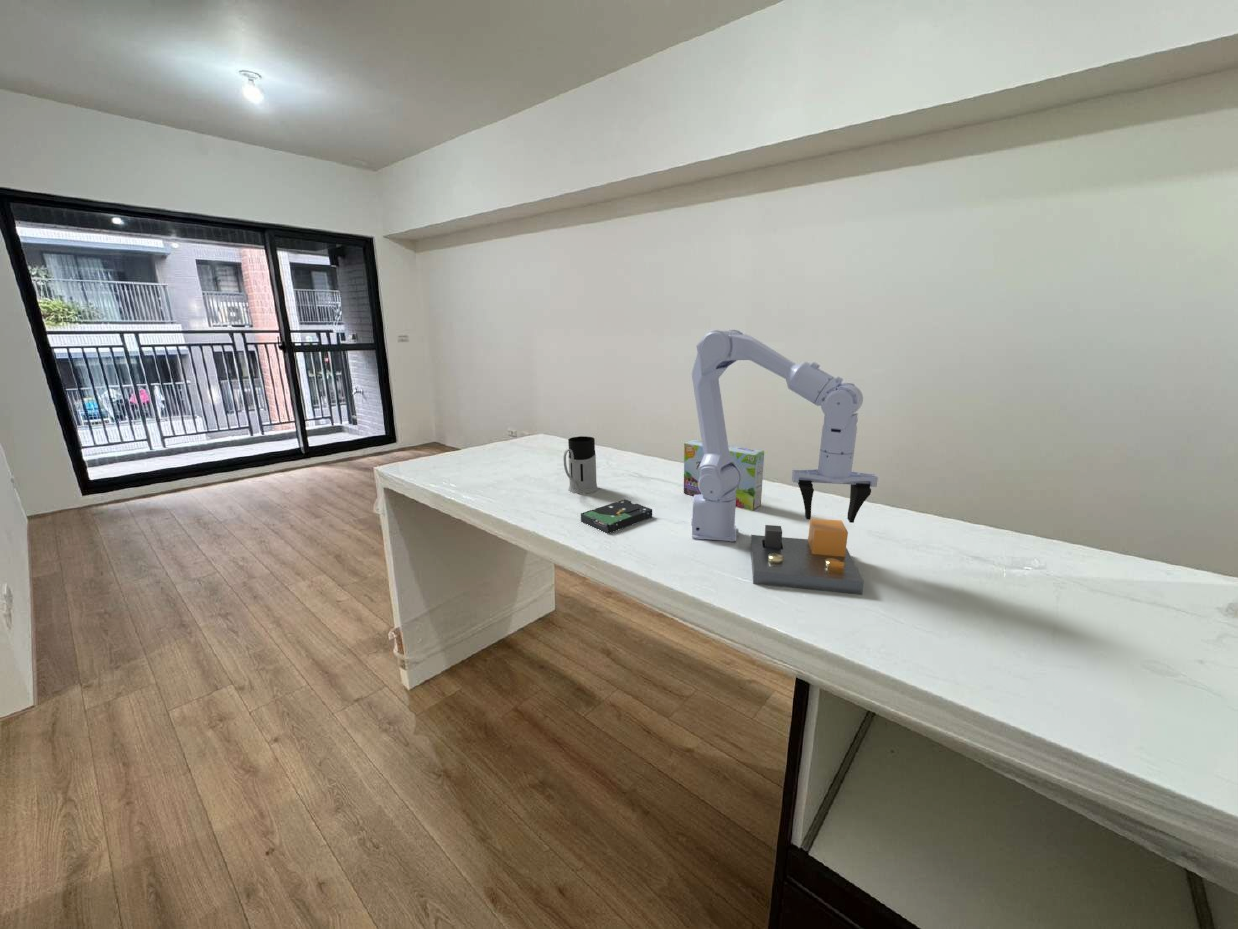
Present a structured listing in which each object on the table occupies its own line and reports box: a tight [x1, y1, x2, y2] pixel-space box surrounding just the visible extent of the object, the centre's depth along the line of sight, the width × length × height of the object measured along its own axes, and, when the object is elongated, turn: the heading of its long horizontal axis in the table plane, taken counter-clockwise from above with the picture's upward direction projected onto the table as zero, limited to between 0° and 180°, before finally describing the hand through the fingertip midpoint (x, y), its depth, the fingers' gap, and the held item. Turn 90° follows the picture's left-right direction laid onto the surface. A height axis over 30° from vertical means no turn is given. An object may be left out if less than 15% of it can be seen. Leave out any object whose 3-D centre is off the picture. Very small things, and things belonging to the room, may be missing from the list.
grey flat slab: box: [750, 534, 865, 595], centre depth 90 cm, size 18×16×4 cm
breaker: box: [764, 524, 783, 549], centre depth 94 cm, size 3×3×4 cm
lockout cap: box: [807, 517, 849, 557], centre depth 92 cm, size 6×6×5 cm
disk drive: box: [580, 498, 653, 535], centre depth 115 cm, size 10×3×15 cm
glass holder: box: [563, 435, 599, 495], centre depth 134 cm, size 9×14×15 cm, turn 156°
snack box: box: [683, 439, 765, 512], centre depth 126 cm, size 21×6×15 cm, turn 49°
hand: (828, 519), depth 91 cm, fingers open, 7 cm apart
